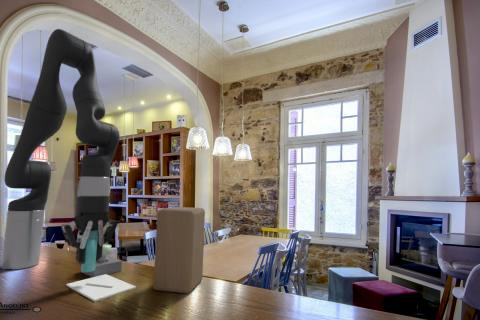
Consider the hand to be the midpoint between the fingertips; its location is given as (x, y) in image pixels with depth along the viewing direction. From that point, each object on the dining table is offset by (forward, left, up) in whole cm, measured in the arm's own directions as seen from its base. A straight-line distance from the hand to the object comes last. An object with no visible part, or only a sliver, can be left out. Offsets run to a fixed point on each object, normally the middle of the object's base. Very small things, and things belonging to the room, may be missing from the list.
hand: (88, 261), depth 66 cm
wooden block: (+18, +15, -6) cm, 24 cm away
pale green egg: (-9, +8, -4) cm, 13 cm away
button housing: (-9, +8, -6) cm, 13 cm away
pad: (+3, +2, -6) cm, 7 cm away
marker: (0, 0, -2) cm, 2 cm away
